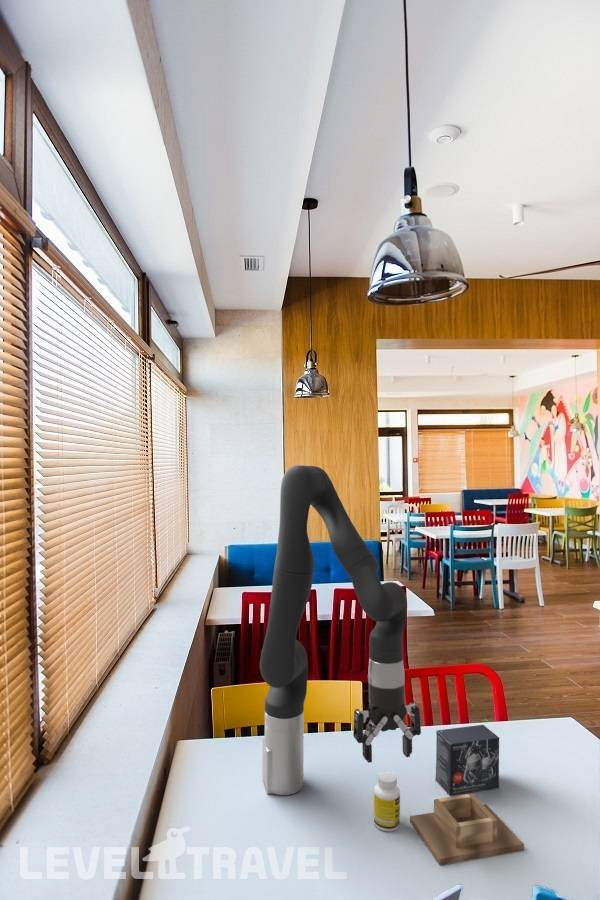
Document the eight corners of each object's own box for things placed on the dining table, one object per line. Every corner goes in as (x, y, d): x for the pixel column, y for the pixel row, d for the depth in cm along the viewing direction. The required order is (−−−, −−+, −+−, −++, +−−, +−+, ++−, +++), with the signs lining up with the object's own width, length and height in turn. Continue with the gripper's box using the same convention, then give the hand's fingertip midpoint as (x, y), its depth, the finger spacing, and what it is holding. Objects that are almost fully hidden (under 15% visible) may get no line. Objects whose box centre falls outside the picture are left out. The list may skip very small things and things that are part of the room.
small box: (450, 797, 125) (449, 744, 125) (434, 781, 131) (434, 730, 132) (500, 788, 128) (500, 736, 129) (483, 772, 135) (482, 723, 135)
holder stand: (439, 865, 104) (439, 837, 104) (409, 821, 116) (409, 796, 116) (523, 850, 108) (523, 822, 108) (486, 809, 120) (486, 785, 121)
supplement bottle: (399, 834, 112) (399, 785, 113) (372, 830, 113) (372, 782, 114) (400, 817, 118) (400, 771, 118) (374, 814, 119) (374, 768, 119)
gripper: (360, 690, 111) (361, 772, 111) (425, 683, 114) (427, 762, 114) (348, 676, 118) (349, 753, 118) (409, 670, 122) (411, 745, 121)
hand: (387, 758), depth 116 cm, fingers open, 8 cm apart
